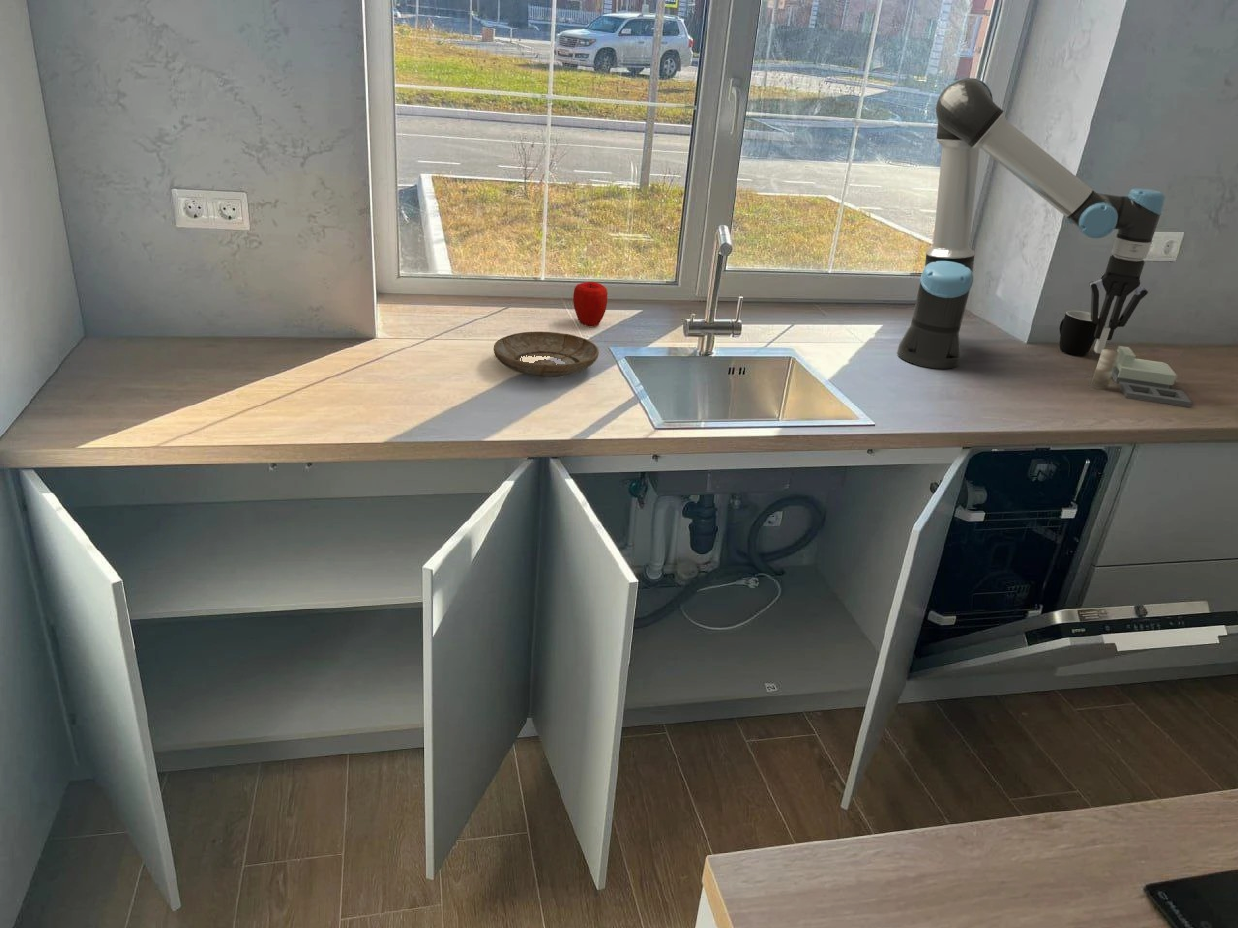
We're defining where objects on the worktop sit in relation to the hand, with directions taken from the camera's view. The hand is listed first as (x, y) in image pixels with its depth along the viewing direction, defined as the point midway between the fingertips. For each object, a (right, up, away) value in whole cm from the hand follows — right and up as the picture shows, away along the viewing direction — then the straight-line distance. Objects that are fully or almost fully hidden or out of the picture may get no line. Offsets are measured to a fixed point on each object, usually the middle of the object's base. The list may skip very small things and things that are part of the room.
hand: (1098, 351), depth 227 cm
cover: (+10, -6, 0) cm, 12 cm away
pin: (-3, -9, -6) cm, 12 cm away
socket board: (+8, -12, -9) cm, 17 cm away
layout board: (+10, -7, 0) cm, 12 cm away
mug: (+2, +3, +19) cm, 19 cm away
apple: (-127, +8, +8) cm, 127 cm away
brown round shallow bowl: (-135, -6, -22) cm, 137 cm away
